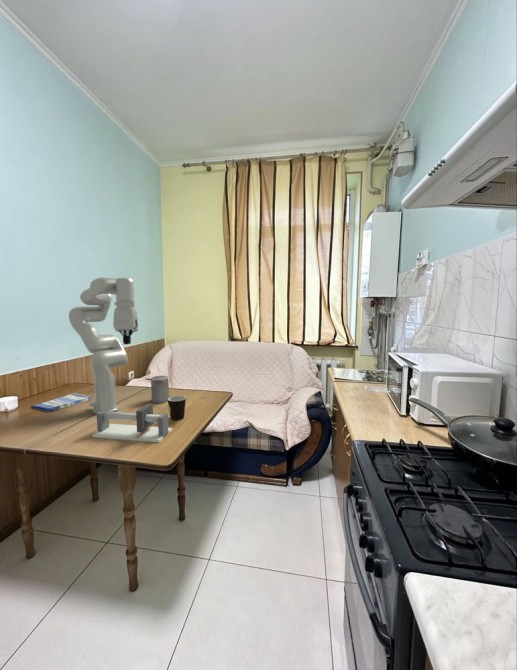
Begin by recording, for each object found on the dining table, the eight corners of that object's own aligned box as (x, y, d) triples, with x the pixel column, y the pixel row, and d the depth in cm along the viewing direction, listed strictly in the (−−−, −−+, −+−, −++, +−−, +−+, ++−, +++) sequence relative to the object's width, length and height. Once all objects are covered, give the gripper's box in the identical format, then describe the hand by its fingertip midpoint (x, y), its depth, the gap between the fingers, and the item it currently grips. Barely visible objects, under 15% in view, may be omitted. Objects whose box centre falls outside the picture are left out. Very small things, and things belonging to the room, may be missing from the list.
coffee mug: (170, 415, 148) (169, 395, 147) (187, 414, 149) (187, 395, 148) (165, 424, 137) (164, 403, 136) (183, 423, 137) (183, 403, 136)
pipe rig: (92, 437, 123) (90, 416, 122) (110, 425, 135) (109, 406, 134) (159, 442, 119) (158, 420, 118) (171, 429, 131) (171, 410, 130)
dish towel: (92, 400, 172) (92, 395, 172) (50, 413, 151) (50, 408, 150) (73, 396, 179) (72, 391, 179) (30, 408, 158) (29, 403, 157)
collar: (136, 432, 121) (136, 411, 120) (148, 423, 130) (147, 403, 129) (142, 432, 121) (141, 411, 120) (153, 423, 130) (152, 404, 129)
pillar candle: (160, 396, 177) (159, 372, 175) (172, 399, 173) (171, 374, 171) (148, 401, 168) (146, 376, 167) (160, 404, 164) (159, 378, 162)
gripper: (105, 304, 134) (107, 344, 135) (135, 305, 131) (137, 345, 133) (115, 304, 141) (117, 342, 143) (144, 305, 139) (146, 343, 141)
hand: (127, 343), depth 138 cm, fingers closed
